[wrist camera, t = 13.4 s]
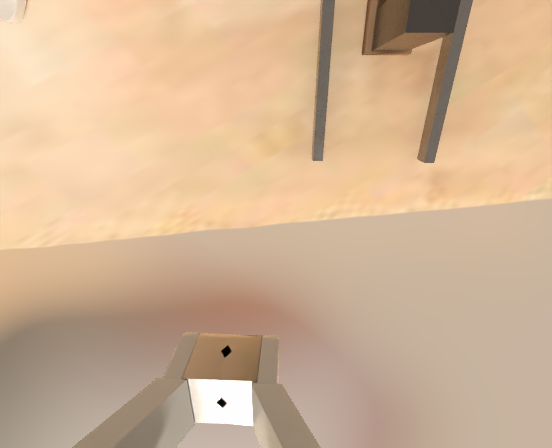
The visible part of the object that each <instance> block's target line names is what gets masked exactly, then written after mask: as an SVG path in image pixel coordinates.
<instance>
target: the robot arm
mask: <svg viewBox="0 0 552 448" xmlns="http://www.w3.org/2000/svg"><path fill="white" fill-rule="evenodd" d="M26 2H27V0H0V21H2V22H7V23H11V24H18V23H19V22H20V21H21V20H22V18H23V15H24V12H25V7H26ZM278 367H279V336H265V335H263V336H262V335H235V334H234V335H233V334H232V335H228V334H227V335H226V334H213V333H194V332H185V333H184V334H183V335H182V336H181V338H180V341H179V343H178V345H177V347H176V349H175V351H174V354H173V356H172V358H171V360H170V362H169V365H168V367H167V369H166V371H165V373H164V376H163V378H157V379H156V380H154V381H153V382H152V383H151V384H149V385H148V386H147V387H146V388H145V389H143V390H142V391H141V392H140V393H138V394H137V395H136V396H135V397H134V398H132V399H131V400H130V401H129V402H127V403H126V404H125V405H124V406H122V407H121V408H120V409H119V410H118V411H116V412H115V413H114V414H113V415H112V416H110V417H109V418H108V419H106V420H105V421H104V422H103V423H102V424H100V425H99V426H98V427H97V428H96V429H94V430H93V431H92V432H90V433H89V434H88V435H87V436H86V437H84V438H83V439H82V440H81V441H79V442H78V443H77V444H76V445H75V446H74V447H72V448H176V447H177V446H178V445H179V444H180V443H181V441H182V440H183V439H184V438H185V436H186V435H187V434H188V433H189V431H190V430H191V429H192V428H193V426H194V425H195V424H194V423H227V424H238V425H249V426H250V425H251V426H253V429H254V431H255V434H256V436H257V439H258V442H259V444H260V447H261V448H320V446H319V444H318V443H317V441H316V439H315V438H314V436H313V434H312V433H311V431H310V430H309V428H308V427H307V425H306V423H305V422H304V420H303V418H302V416H301V415H300V413H299V411H298V410H297V408H296V407H295V405H294V403H293V402H292V400H291V398H290V397H289V395H288V393H287V392H286V390H285V388H284V387H283V385H282V384H278Z"/></svg>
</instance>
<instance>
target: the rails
mask: <svg viewBox="0 0 552 448" xmlns="http://www.w3.org/2000/svg"><path fill="white" fill-rule="evenodd" d="M472 2H473V0H461V2H460V6H459V11H458V15H457V20H456V24H455V29H454V33H452V34H449V35H447V36H444V37H443V42H442V47H441V51H440V56H439V61H438V65H437V70H436V75H435V79H434V84H433V89H432V93H431V98H430V103H429V107H428V112H427V117H426V122H425V126H424V131H423V136H422V140H421V145H420V150H419V154H418V160H420V161H422V162H424V163H434V161H435V157H436V153H437V148H438V144H439V140H440V136H441V132H442V127H443V123H444V119H445V115H446V111H447V106H448V102H449V98H450V94H451V90H452V86H453V81H454V77H455V73H456V69H457V65H458V60H459V56H460V52H461V48H462V44H463V39H464V35H465V31H466V27H467V23H468V18H469V14H470V10H471V6H472ZM334 3H335V0H321V12H320V29H319V45H318V62H317V79H316V95H315V112H314V129H313V146H312V160H313V161H323V148H324V135H325V122H326V109H327V96H328V83H329V69H330V56H331V43H332V30H333V17H334Z"/></svg>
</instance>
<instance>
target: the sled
mask: <svg viewBox="0 0 552 448" xmlns="http://www.w3.org/2000/svg"><path fill="white" fill-rule="evenodd" d="M460 2H461V0H368V6H367V15H366V24H365V32H364V41H363V50H362V55H409V54H411V52H412V49H413V48H415V47H418V46H421V45H423V44H426V43H428V42H431V41H434V40H436V39H439V38H441V37H444V36H447V35H449V34H452V33H454V29H455V24H456V20H457V15H458V11H459V6H460Z"/></svg>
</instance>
